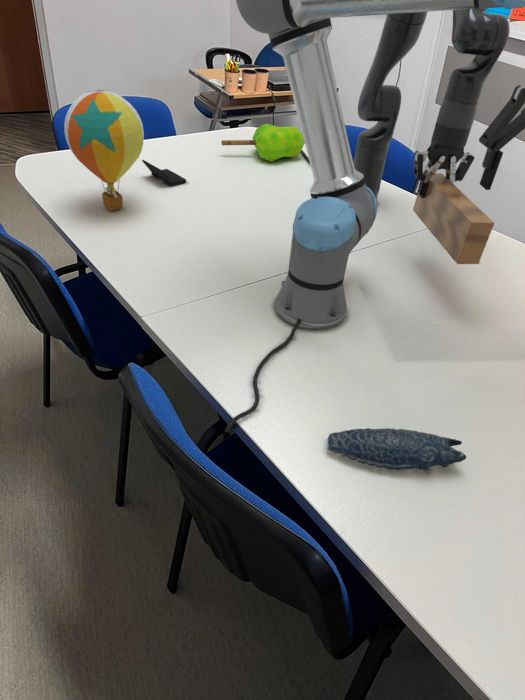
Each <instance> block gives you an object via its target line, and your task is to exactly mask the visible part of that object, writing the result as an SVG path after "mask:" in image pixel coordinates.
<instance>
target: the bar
mask: <svg viewBox="0 0 525 700" xmlns="http://www.w3.org/2000/svg"><path fill="white" fill-rule="evenodd" d="M428 183H429V185H428V188H427V191H426V195H425V198H421V197H420V196H419V194H418V193H417V194H416V198H415V201H414V205H413V208H412V212H413V213H415V215H416V216H417V217H418V218H419V220H420V221H421V222H422V223H423V225H424V226H425V227H426V228H427V230H428V231H429V232H430V234H432V236H433V237H434V238H435V239H436V240H437V242H438V243H439V245H441V246H442V248H443V249H444V250H445V251H446V252H447V254H448V255H449V256H450V258H451V259H452V260H453V261H454V262H455V264H456V265H479V264H480V261H481V258H482V256H483V253H484V251H485V249H486V246H487V243H488V241H489V238H490V235H491V233H492V230H493V228H494V226H495V222H494V221H493V220H492V219H491V218H490V217H489V216H488V215H487V214H486V213H485V212H484V211H482V210H481V209H480V208H479V207H478V206H477V205H476V204H475V203H474V202H473V201H472V200H471V199H470V197H469V198H468V196H467V195H466V194H464V192H462V191H461V189H460V188H458V187H457V186H456V185H455V183H452V182H451V181H450V180H449V179H448V178H446V175H444V173H438V172H436V173H435V174H434V175H432V177H431V178H430V180H429V182H428Z"/></svg>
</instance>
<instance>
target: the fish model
mask: <svg viewBox="0 0 525 700" xmlns="http://www.w3.org/2000/svg"><path fill="white" fill-rule="evenodd" d="M326 440H327V444H328V446H327V451H330V452H333V453H334V454H339V455H340V456H342V457H343V458H344V457H345V458H346V457H347V459H349V460H351V461H356V462H357V463H360V464H366V465H368V466H374V467H376V468H378V469H379V468H380V469H385V470H386V469H387V470H395V471H401V470H411V469H416V470H419V471H427V470H429V469H430V468H433V467H438V466H439V467H441V468H448V467H449V466H451V465H453V464H456V463H461V462H463V461H465V460H466V459H467V455H466V454H465V453H464V452H462V451H461V450H457V449H456V448H454V446H459V445H462V444H463V441H461V440H459V439H455V438H450V437H445V436H440V435H438V434H432V433H427V432H424V431H417V430H412V429H411V430H410V429H405V428H398V429H396V428H388V427H387V428H383V427H382V428H370V427H368V428H353V429H349V430H342V431H337V432H332V433H329V435H328V437H327V439H326Z"/></svg>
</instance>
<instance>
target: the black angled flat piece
mask: <svg viewBox="0 0 525 700" xmlns="http://www.w3.org/2000/svg"><path fill="white" fill-rule="evenodd" d="M141 161H142V163H143V164H144V165H145V167H147V169H148V170H149V171H150V172H151V174H150V175H151V176H153V177H155V178H156V179H158V180H160V181H162V182H163V183H165V184H167V185H168V186H170V187H172V186H177V185H180V184H184V183H185V184H186V183H187V179H186V178H184V177H183V176H181V175H179V174H177V173H175V172H173V171H172V170H170V169H168V168H164V169H161V168H159V167H157V166H155V165H153V164H151V163H150V162H148V161H146V160H145V159H142V160H141Z"/></svg>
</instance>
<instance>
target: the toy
mask: <svg viewBox="0 0 525 700" xmlns="http://www.w3.org/2000/svg"><path fill="white" fill-rule="evenodd" d="M63 128H64V130H63V131H64V132H63V133H64V137H65V141H66V144H67V146H68V148H69V150H70V151H71V152H72V154H73V156H75V158H76V159H77V161H78V162H80V163H81V165H83V166H84V167H85V168H86V169H87V170H88V171H90V172H91V173H92V174H93V175H94V176H96V177H97V178H98V179H100V180H101V183H102V184H101V185H102V187H103V191H102V193H101V198H102V203H103V205H104V207H105V208H106V209H108V210H109V211H110V212H113V211H118V210H121V209H122V208H123V203H124V201H123V195H122V194H121V193H120V192H119V191H118V190H119V188H120V183H118V182H120V181H121V178H122V177H123V176H124V175H125V174H126V173H127V172H128V171H129V170H130V169H131V167H133V165H134V164H135V163H136V161H137V160H138V159H139V158H140V155H141V153H142V150H143V147H144V141H145V131H144V130H145V129H144V125H143V121H142V119H141V116H140V114H139V113H138V111H137V109H136V108H134V106H133V105H132V103H130V102H129V101H128V100H127V99H126V98H124V97H123V96H122V95H119V94H117V93H115V92H112V91H109V90H102V89H101V90H100V89H98V90H92V91H87V92H85V93H82V95H79V96H78V97H77V98H76V99H75V100H73V102H72V103H71V105H70V107H69V108H68V111H67V112H66V114H65V118H64V124H63ZM104 183H105V184H106V185H107V186H106V187H105V186H104ZM115 183H118V185H117V190H116V188H115Z"/></svg>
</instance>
